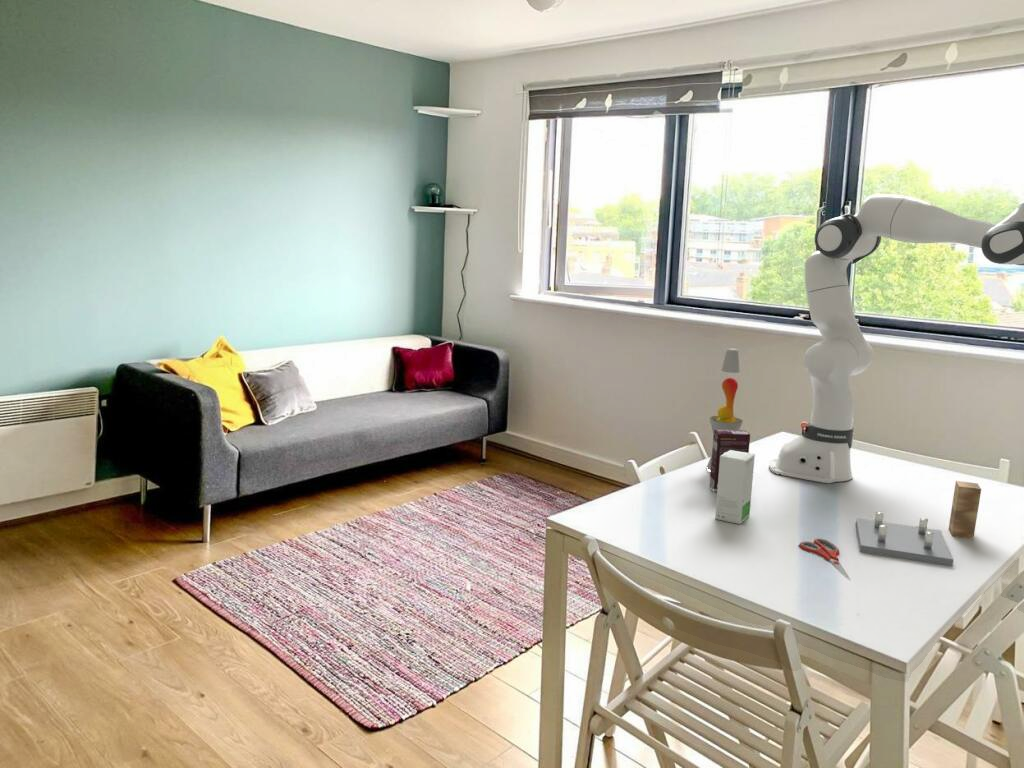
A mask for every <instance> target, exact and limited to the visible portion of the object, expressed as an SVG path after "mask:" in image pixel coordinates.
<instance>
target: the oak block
mask: <svg viewBox="0 0 1024 768" xmlns="http://www.w3.org/2000/svg"><path fill="white" fill-rule="evenodd" d="M954 485H955V486H954V489H953V490H954V491H953V496H952V497H953V499H952V505H951V509H950V510H951V511H950V516H949V518H950V519H949V523H948V524H949V525H948V531H949V533H950V535H952V536H951V537H956V536H959V537H958V538H963V537H966V538H965V539H970V538H973V539H974V538H975V531H976V525H977V518H978V512H979V506H980V500H981V493H982V488H981V487H980V485H979V483H976V482H970V481H969V482H968V481H961V480H955V484H954Z"/></svg>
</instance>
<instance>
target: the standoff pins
mask: <svg viewBox="0 0 1024 768" xmlns="http://www.w3.org/2000/svg"><path fill="white" fill-rule="evenodd" d="M883 520H884V512H881V511H875V519H874V521H875V524H874V527H875V528H878V529H879V532H878V539H877V541H878V542H881V543H885V540H886V533H887V526H885V525H882V522H884V521H883ZM928 523H929V519H928V518H926V517H920V518H919V525H918V527H919V530H918V534H920V535H925V539H924V546H923V548H924V549H927V550H931V549H932V542H933V536H934V533H932V532H926V530H927V528H928Z"/></svg>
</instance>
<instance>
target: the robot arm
mask: <svg viewBox="0 0 1024 768" xmlns="http://www.w3.org/2000/svg"><path fill="white" fill-rule="evenodd" d="M882 238H887V239H891V240H894V241H898V242H902V243H910V244H937V243H939V244H941V243H947V244H948V243H951V244H962V245H965V246H971V247H974V248H979V249H981V251H982V254H983V255H984V257H985V258H986V259H987V260H988V261H989V262H991V263H994V264H998V265H1017V266H1024V200H1022V201H1020V202H1019V203H1018V206H1017V207H1016V208H1015V210H1014V211H1012V212H1011V214H1009V215H1008V216H1007V217H1006V218H1004V220H1002V221H1001V222H999V223H997V224H995V223H990V222H986V221H985V222H984V221H980V220H976V219H971V218H966V217H964V216H961V215H958V214H956V213H954V212H952V211H949V210H947V209H944V208H942V207H940V206H938V205H934V204H932V203H931V202H926V201H925V200H921V199H917V198H914V197H910V196H904V195H900V194H898V195H897V194H891V193H890V194H888V193H887V194H886V193H882V194H881V193H875V194H872V195H870V196H867V197H866V198H865V199H864V200H863V201H862V203H861V205H860V206H859V210H858V212H857V213H856V214H852V213H845V214H843V215H840V216H837V217H834V218H830V219H827V220H825V222H823V223H822V224H820V225H819V226H818V228H817V229H816V231H815V234H814V245H815V248H816V249H817V250H816V251H814V252H813V253H811V254H809V255H808V257H806V259H805V262H804V282H805V283H804V284H805V292H806V297H807V304H808V309H809V315H810V320H811V322H812V323H813V324H814V325H815V326H816V328H817V329H818V331H819V333H820V335H821V337H822V340H820V341H819V342H817V343H815V344H813V345H811V346H809V348H807V349H806V351H805V353H804V355H803V357H802V359H803V360H802V361H803V363H802V364H803V368H804V370H805V372H806V373H807V374H808V375H809V379H810V384H811V390H812V404H811V405H812V406H811V414H810V415H811V416H810V422H807V421H802V422H801V423H800V428H801V435H800V436H798V437H796V438H794V439H793V440H791V441H788V442H787V443H784V445H783V446H782V447H781V449H780V450H779V453H778V457H777V458H774V459H772V460H770V462H769V466H768V469H769V468H770V469H769V471H770V470H771V471H772V473H773V472H774V473H773V474H775V473H776V474H775V475H779V474H781V476H784V477H785V476H786V477H790V478H796V479H801V480H807V481H811V482H812V481H813V482H816V483H817V482H819V483H823V484H832V483H836V482H846V481H847V482H848V481H850V480H851V479H853V473H852V467H851V449H852V446H853V442H854V428H853V424H854V417H855V409H856V408H855V407H856V400H855V398H854V396H853V395H852V393H851V391H852V390H851V385H850V377H852V376H857V375H859V374H862V373H863V372H865V371H866V370H867V369H869V368H870V367H871V365H872V364H873V361H874V357H875V354H874V349H873V347H872V346H871V344H870V343H869V341H867V340H866V338H865V337H864V334H863V332H862V330H861V329H860V326H859V323H858V321H857V318H856V316H855V313H854V309H853V303H852V299H851V298H852V297H851V292H850V287H849V281H848V275H847V268H848V267H849V264H852V265H853V264H856V263H857V262H859V261H861V260H863V259H864V258H866V257H868V256H870V255H871V254H873V253H874V252H876V251H877V249H878V248H879V246H880V244H881V242H882V241H881V240H882ZM771 471H770V472H771Z"/></svg>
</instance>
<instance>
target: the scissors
mask: <svg viewBox="0 0 1024 768" xmlns="http://www.w3.org/2000/svg"><path fill="white" fill-rule="evenodd" d="M824 544H825V545H824ZM811 546H812V547H811ZM826 546H827V547H826ZM828 546H829V548H830V549H831V548H832V549H831V550H830V549H828ZM798 547H799V549H801V550H803V551H805V552H808V553H811V552H812V553H811V554H814V553H815V555H817V556H819V557H821V558H822V557H823V559H824V560H825V561H827V562H830V563H831V564H832V566H833V567H834V568H835V569H836V570H837V571H838V572H839V573H840V574H841V575H842V576H844V577H845V578H846V579H847V580H849V581H851V582H852V579H851V577H850V576H849V574H848V573H847V571H846V570H845V569H844V567H843V566H842V564H841V563H840V562H839V561H840V560H839V557H838V555H840V549H839V548H838V547H837V546H836V545H835V544H834V543H832V542H831V541H829V540H827V539H824V538H815V539H814V540H813V542H811V541H802V542H800V543H799V545H798ZM813 547H814V548H813Z"/></svg>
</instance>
